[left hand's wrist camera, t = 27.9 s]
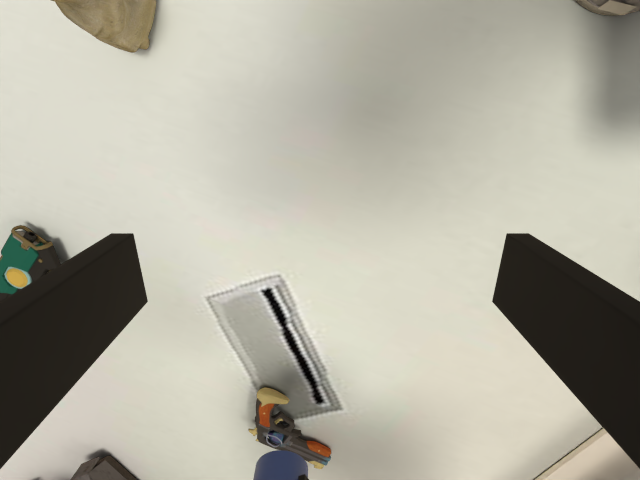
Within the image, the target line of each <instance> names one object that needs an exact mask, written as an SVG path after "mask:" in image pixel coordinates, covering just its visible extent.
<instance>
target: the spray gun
mask: <svg viewBox="0 0 640 480" xmlns="http://www.w3.org/2000/svg"><path fill="white" fill-rule="evenodd" d="M17 229H24V230H25V231H27V232H26V233H24V232H22V231H15V230H17ZM11 232H12V233H11V234H10V236H9V238H8V240H7V241H6V243H5V245H4V247H3V248H2V250H1V254H2V256H1V258H0V302H1V301H2V300H4V299H6V298H7V297H9V296H11V295H12V294H14V293H15V292H17V291H19V290H20V289H22V288H24V287H25V286H27V285H28V284H30V283H32V282H33V281H35V280H37V279H38V278H40V277H41V276H43V275H45V274H46V273H47V272H48V270H50V271H51V270H53V269H55V268H56V267H58V266H59V265H61V264H60V261H59V259H58V256H57V254H56V252H55V249H54V247H53V246H52V245H53V244H52V242H47V241H45V240H44V239H42V238H41V237H40V236H38V235H37V234H35V233H34V232H33V231H31V230H30V229H29V228H27V227H25V226H22V225H20V226H16V227H14V228H13V229H12V230H11ZM39 241H41V242H42V243H39ZM43 243H44V244H45V245H43ZM50 271H49V272H50Z"/></svg>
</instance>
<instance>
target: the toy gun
mask: <svg viewBox="0 0 640 480" xmlns="http://www.w3.org/2000/svg"><path fill="white" fill-rule="evenodd" d="M288 402H289V399H288V398H287V397H286V396H285V395H283V394H281V393H280V392H278V391H276V390H273V389H270V388H262V389H260V390H259V391H258V392H257V402H256V417H255V422H256V428H255V429H249V432H250V433H252V434H253V436H255V435H256V434H257V439H256V441H259V442H260V443H262V444H265V445H267V446H270V447H272V448H275V449H278V450H284V451H290V452H293V453H296V454H298V455H299V456H301V457H302V458H303V459H304V460H306V461H308V462H309V463H311V464H314V465H315V466H314V468H318V469H322V468H323V467H324V465H327V464H328V461H330V459H331V456H330V454H331V449H330V448H328V447H326V446H324V445H322V444H320V443H318V442H315V441H305V440H303V439H301V438H299V436H301V430H297V429H293V428H294V420H293V419H291V418H289V417H287V416H286V415H285V414H284V413H283V412H281V411H280V412H279V413H278V414H276V415H274V416H272V415H271V414H272V411H273V409H274V408H275V407H276V406H277V405H279V404H287V403H288ZM277 418H279V419H277ZM276 419H277V420H276ZM283 420H284V421H285V422H287V423H288V424H287V425H283V424H281V423H278V422H279V421H283ZM276 421H277V422H276ZM270 430H272V431H270ZM267 435H268V437H269V438H267Z"/></svg>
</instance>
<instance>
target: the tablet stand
mask: <svg viewBox="0 0 640 480" xmlns="http://www.w3.org/2000/svg"><path fill="white" fill-rule="evenodd" d="M535 480H640V469H639V468H638V466H637V465H636V464H635V463H634V462H633V461H632V460H631V459H630V457H629V456H628V455H627V454H626V453H625V452H624V451H623V449H622V448H621V447H620V446H619V445H618V444H617V443H616V441H615V440H614V439H613V438H612V437H611V436H610V435H609V434H608V432H607V431H606V430H605V429H604V428H603V429H602V430H600V431H599V432H598V433H596V434H595V435H594V436H592V437H591V438H590V439H588V440H587V441H586V442H584V443H583V444H582V445H580V446H579V447H578V448H576V449H575V450H574V451H572V452H571V453H570V454H568V455H567V456H566V457H564V458H563V459H562V460H560V461H559V462H558V463H556V464H555V465H554V466H552V467H551V468H550V469H548V470H547V471H546V472H544V473H543V474H542V475H540V476H539V477H538V478H536V479H535Z"/></svg>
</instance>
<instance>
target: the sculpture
mask: <svg viewBox="0 0 640 480" xmlns="http://www.w3.org/2000/svg"><path fill="white" fill-rule="evenodd" d="M52 1H55V2H56V4H57V6H58V7H59V8H60V10H61V11H62V13H63V14H64V15H65V16H66V17H67V18H68V19H70V20H71V21H72V22H73V23H75V24H76V25H78V26H79V27H81V28H82V29H84V30H85V31H87V32H88V33H90V34H92V35H93V36H94V37H96V38H97V39H99V40H100V41H102V42H104V43H107V44H109V45H111V46H114V47H116V48H119V49H122V50H125V51H128V52H136V51H137V50H138V48H141V49H148V47H149V43H150V42H149V39H148V35H149V33H150V30H151V27H152V24H153V19H154V14H155V8H156V0H52Z"/></svg>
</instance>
